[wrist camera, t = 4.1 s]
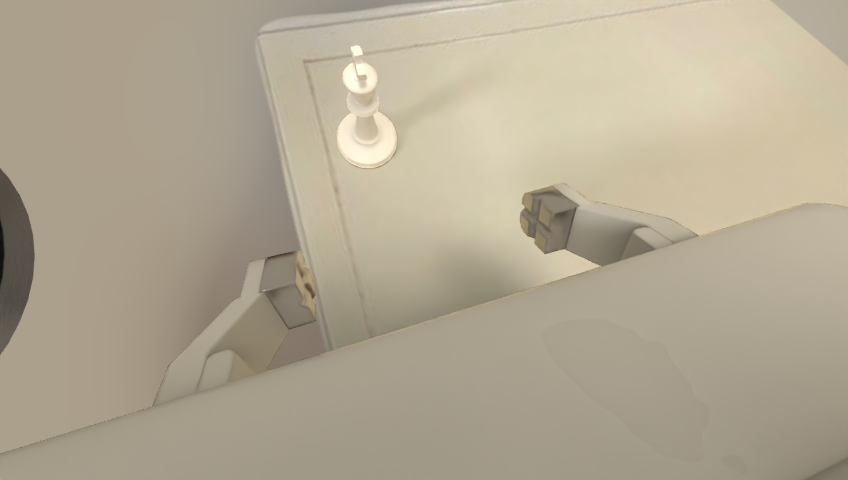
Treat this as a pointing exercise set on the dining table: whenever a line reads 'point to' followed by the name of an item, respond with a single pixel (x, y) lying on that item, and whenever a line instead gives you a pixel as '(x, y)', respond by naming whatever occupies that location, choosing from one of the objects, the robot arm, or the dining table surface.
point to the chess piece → (364, 118)
